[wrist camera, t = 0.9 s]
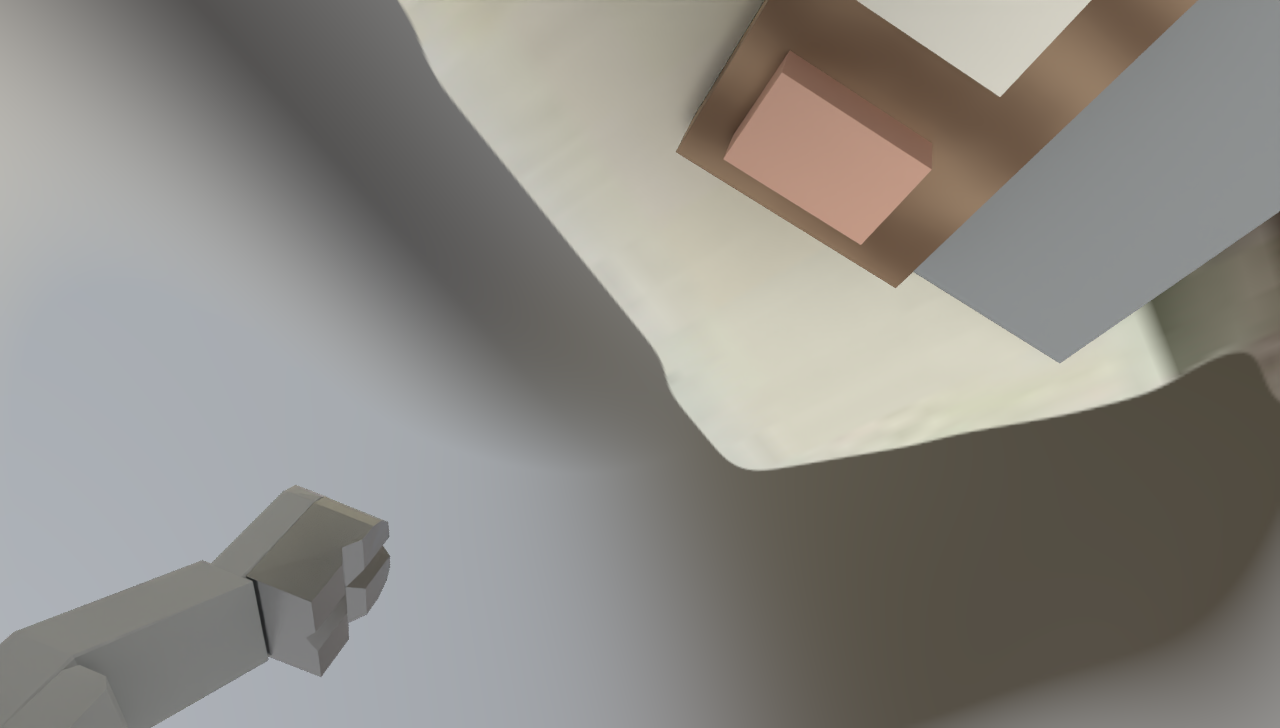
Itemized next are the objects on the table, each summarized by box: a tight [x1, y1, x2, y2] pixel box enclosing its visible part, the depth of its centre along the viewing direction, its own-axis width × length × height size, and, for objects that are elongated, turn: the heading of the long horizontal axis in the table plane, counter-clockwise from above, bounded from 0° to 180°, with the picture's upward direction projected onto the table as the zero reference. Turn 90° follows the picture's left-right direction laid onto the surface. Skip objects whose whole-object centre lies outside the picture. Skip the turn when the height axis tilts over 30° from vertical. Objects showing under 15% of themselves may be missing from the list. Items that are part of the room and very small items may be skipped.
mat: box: [913, 0, 1280, 363], centre depth 39 cm, size 20×12×1 cm, turn 154°
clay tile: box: [723, 51, 932, 245], centre depth 36 cm, size 5×8×2 cm, turn 64°
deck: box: [676, 0, 1198, 288], centre depth 36 cm, size 19×14×4 cm
